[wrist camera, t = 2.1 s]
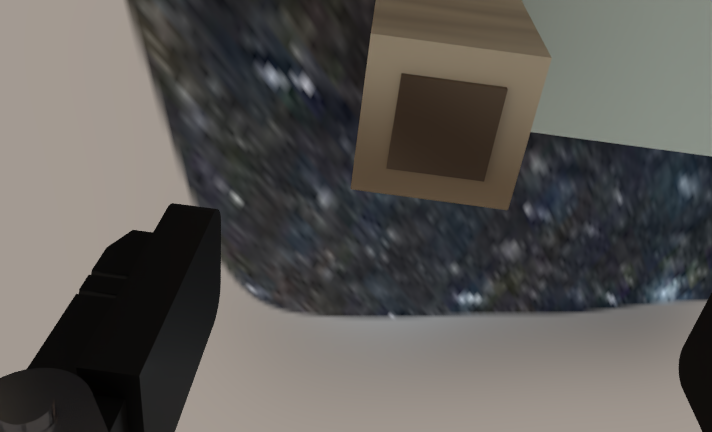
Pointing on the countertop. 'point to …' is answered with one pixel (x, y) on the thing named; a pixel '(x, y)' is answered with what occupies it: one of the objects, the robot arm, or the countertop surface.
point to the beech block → (449, 100)
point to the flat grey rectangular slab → (627, 72)
